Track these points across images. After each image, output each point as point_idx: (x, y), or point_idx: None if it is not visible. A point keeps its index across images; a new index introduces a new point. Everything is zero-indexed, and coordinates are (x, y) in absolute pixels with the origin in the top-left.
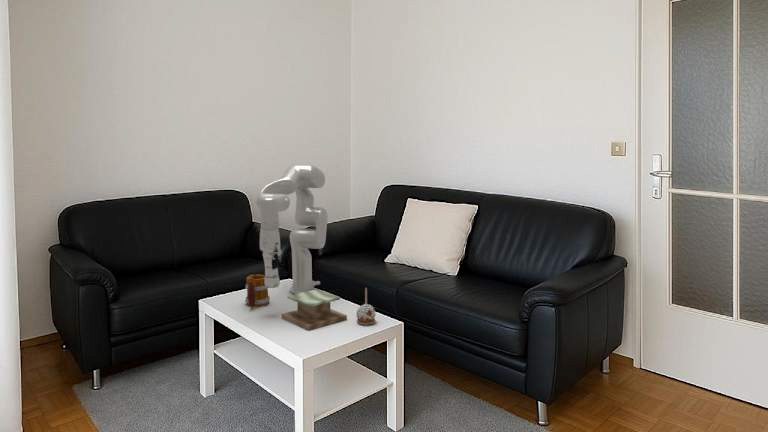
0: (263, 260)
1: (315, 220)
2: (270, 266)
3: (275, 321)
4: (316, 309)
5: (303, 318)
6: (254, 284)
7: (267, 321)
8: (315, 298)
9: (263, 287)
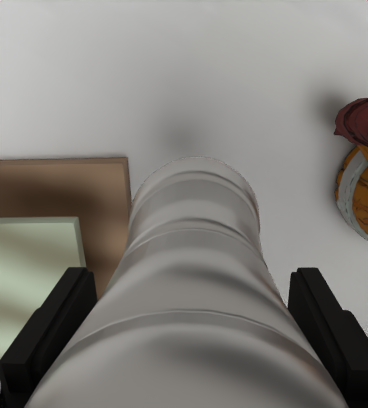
0: (338, 309)
1: None
2: (115, 272)
3: (105, 114)
4: None
5: (9, 204)
6: None
7: (127, 83)
8: None
9: None
